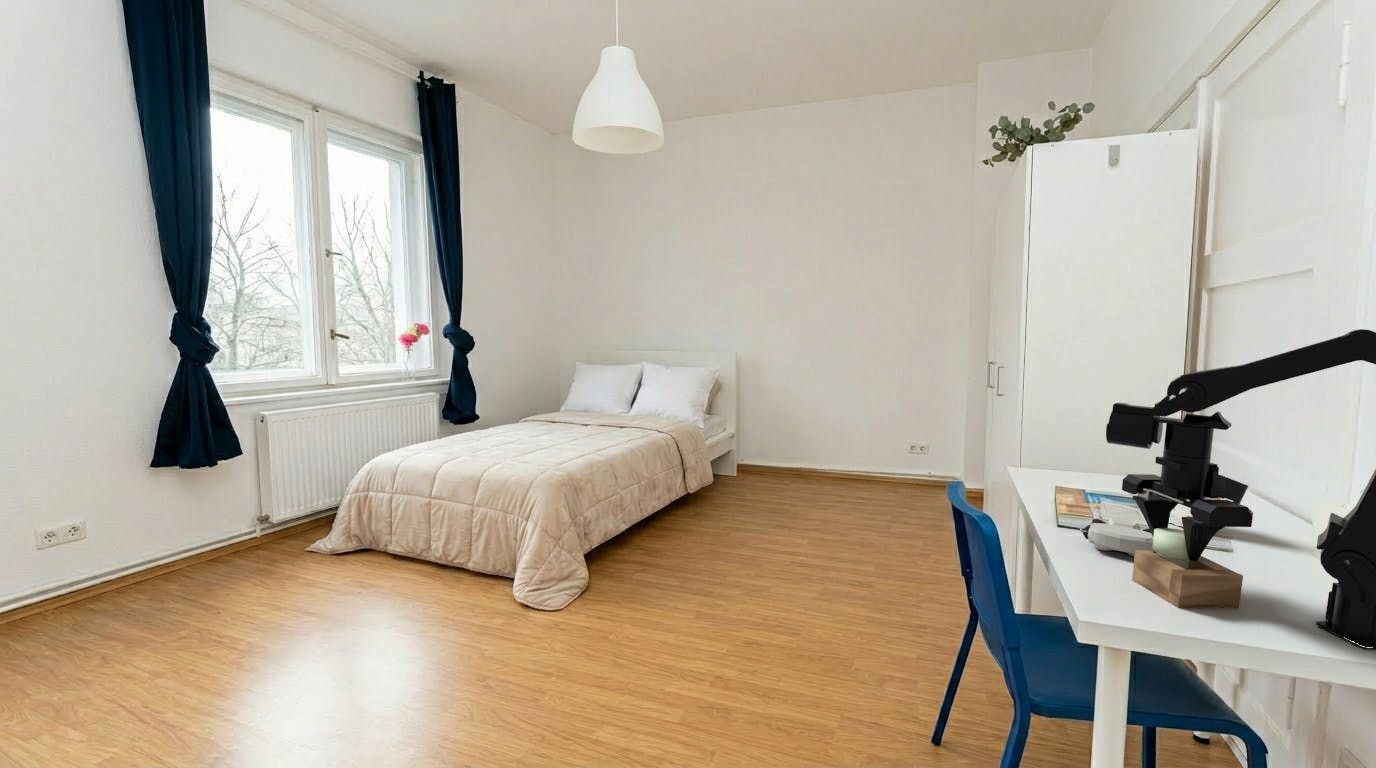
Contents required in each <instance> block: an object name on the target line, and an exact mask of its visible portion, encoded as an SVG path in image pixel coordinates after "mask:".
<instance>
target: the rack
mask: <svg viewBox="0 0 1376 768" xmlns="http://www.w3.org/2000/svg"><path fill="white" fill-rule="evenodd" d="M1243 580H1244V575H1243V574H1240V573H1238V572H1236V571H1234V570H1232V569H1230V568H1228V567H1226V566H1223V565H1221V564H1219V563H1217V562H1216V561H1213V560H1211V559H1209V558H1206V557H1205V556H1202V555H1201V558H1200V559H1199V560H1197V561H1191V560H1189V561H1188V570H1186V569H1184V568H1182V567H1180V566H1178V565H1176V564H1174V563H1172V562H1170V561H1168V560H1166V559H1164V558H1163V556H1162V555H1161V556H1160V554H1158V553H1153V552H1151V551H1149V550H1135V557H1134V558H1133V570H1132V578H1131V581H1133V582H1134V583H1136V584H1138V585H1140V586H1141V587H1142V588H1145V590H1148V591H1150V592H1152V593H1153V594H1155V596H1157V597H1159V598H1161V599H1162V600H1165V601H1167V602H1168V603H1170V604H1171V605H1173V606H1175V607H1177V608H1178V609H1240V606H1241V605H1240V604H1241V596H1242V587H1243Z"/></svg>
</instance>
